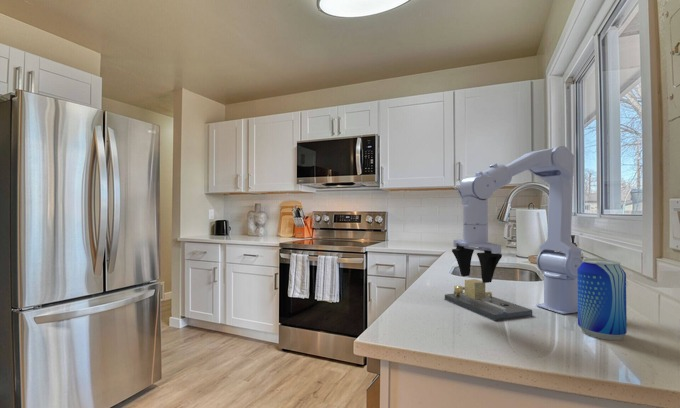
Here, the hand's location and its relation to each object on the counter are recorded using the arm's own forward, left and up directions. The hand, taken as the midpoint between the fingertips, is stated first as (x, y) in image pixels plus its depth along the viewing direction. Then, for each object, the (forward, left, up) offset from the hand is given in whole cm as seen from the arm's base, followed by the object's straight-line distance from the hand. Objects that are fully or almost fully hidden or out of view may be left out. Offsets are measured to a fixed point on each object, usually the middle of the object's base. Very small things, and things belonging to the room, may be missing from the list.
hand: (475, 279), depth 82 cm
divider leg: (-9, -9, -8) cm, 15 cm away
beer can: (-19, +16, -10) cm, 28 cm away
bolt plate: (-9, -8, -10) cm, 16 cm away
